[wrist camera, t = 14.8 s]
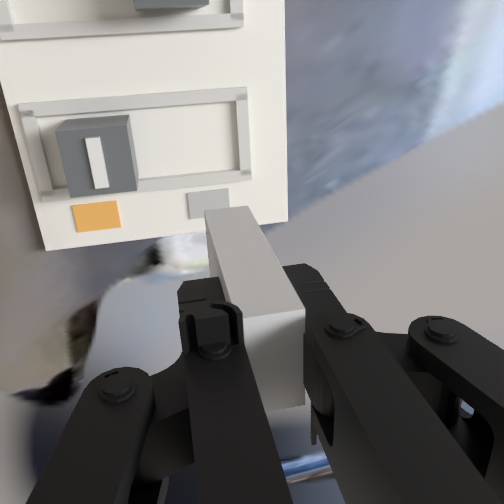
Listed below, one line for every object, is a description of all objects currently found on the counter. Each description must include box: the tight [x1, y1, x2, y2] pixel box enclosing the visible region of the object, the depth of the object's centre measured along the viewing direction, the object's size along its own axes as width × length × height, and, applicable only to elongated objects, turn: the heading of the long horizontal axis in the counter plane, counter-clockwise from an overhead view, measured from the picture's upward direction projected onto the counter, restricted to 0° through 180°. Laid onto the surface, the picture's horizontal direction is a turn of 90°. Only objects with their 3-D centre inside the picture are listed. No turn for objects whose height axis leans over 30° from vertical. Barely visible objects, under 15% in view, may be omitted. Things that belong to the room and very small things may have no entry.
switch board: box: [0, 0, 288, 251], centre depth 30 cm, size 24×18×2 cm
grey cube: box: [55, 114, 139, 198], centre depth 29 cm, size 4×4×4 cm
